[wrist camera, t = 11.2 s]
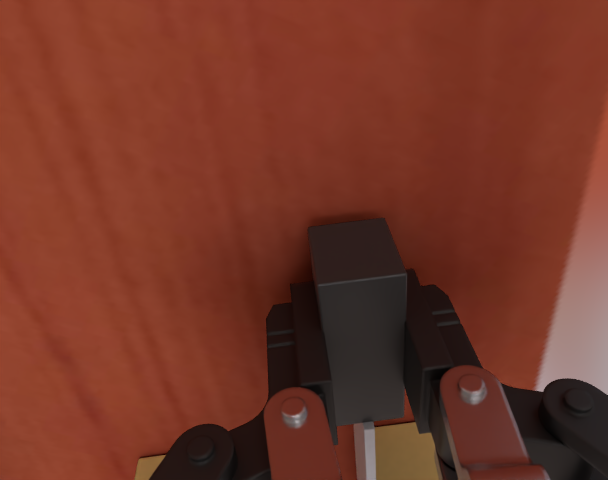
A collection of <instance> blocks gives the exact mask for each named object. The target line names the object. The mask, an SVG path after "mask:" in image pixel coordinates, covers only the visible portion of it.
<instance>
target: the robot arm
mask: <svg viewBox="0 0 608 480" xmlns="http://www.w3.org/2000/svg"><path fill="white" fill-rule="evenodd" d="M406 273H407V307H406V321H405V354H404V386H405V389H406V393H407V396H408V399H409V402H410V406H411V409H412V412H413V415H414V419H415V422H416V425H417V429H418V432H419V434H424V433H431V435H432V438H433V441H434V444H435V453H434V459H435V464H436V469H437V473H438V478H439V480H608V395H606V394H605V393H603V392H602V391H600V390H599V389H597V388H596V387H594V386H592V385H591V384H588V383H586V382H583V381H580V380H576V379H558V380H555V381H553V382H551V383H549V384H548V385H547V386H546V387H545V389H544V392H539V391H532V390H525V389H518V388H513V387H510V386H507V385H504V384H502V383H500V382H499V380H498V379H497V378H496V377H495V376H494V375H493V374H491V373H490V372H489V371H487V370H485V369H483V367H482V366H481V364H480V362H479V360H478V358H477V355H476V353H475V351H474V349H473V347H472V345H471V343H470V341H469V339H468V337H467V335H466V333H465V330H464V328H463V326H462V324H460V320H459V318H458V316H457V314H456V313H455V310H454V308H453V305H452V303H451V301H450V299H449V297H448V296H447V295H446V294H445V293H444V292H443V291H442V290H440V289H439V288H438V287H437V286H436V285H427V286H421V285H420V283H419V281H418V278H417V276H416V274H415V271H414V270H413V269H406ZM290 290H291V300H292V303H284V304H276V305H273V306H272V308H271V310H270V312H269V314H268V316H267V318H266V329H267V358H268V387H269V394H268V400H267V403H266V405H265V407H264V408H263V410H262V411H261V412H260V414H259V415H258V416H256V417H255V418H254V419H253V420H251V421H250V422H248V423H246V424H244V425H242V426H239V427H237V428H235V429H232V430H230V431H227V430H226V429H224V428H223V427H221V426H219V425H215V424H202V425H198V426H195V427H193V428H191V429H189V430H187V431H186V432H184V433H183V434H182V435H181V436H180V437H179V438H178V439H177V440H176V442H175V443H174V444H173V446H172V447H171V449H170V450H169V451H168V453H167V454H166V456H165V457H164V459H163V460H162V461H161V463H160V464H159V466H158V467H157V468H156V470H155V471H154V473H153V474H152V476H151V477H150V478H149V480H342V476H341V472H340V468H339V464H338V460H337V456H336V452H335V448H334V445H338V438H337V427H336V417H335V406H334V396H333V385H332V377H331V371H330V365H329V359H328V353H327V347H326V341H325V335H324V332H323V331H322V330H321V325H320V318H319V312H318V306H317V299H316V293H315V287H314V281H310V282H302V283H294V284H290Z"/></svg>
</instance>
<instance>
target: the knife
mask: <svg viewBox="0 0 608 480" xmlns="http://www.w3.org/2000/svg"><path fill="white" fill-rule="evenodd" d="M308 238H309V247H310V257H311V266H312V275H313V281H314V287H315V293H316V299H317V306H318V312H319V318H320V325H321V330H322V331H323V332H324V335H325V341H326V347H327V353H328V359H329V365H330V371H331V377H332V385H333V396H334V406H335V417H336V426H342V425H350V424H353V425H354V440H355V456H356V471H357V480H376V454H375V427H374V423H373V421H381V420H388V419H396V418H403V417H404V396H405V386H404V354H405V321H406V307H407V273H406V270H405V268H404V265H403V263H402V260H401V258H400V255H399V253H398V250H397V248H396V245H395V243H394V240H393V238H392V235H391V233H390V230H389V228H388V225H387V223H386V220H385V218H377V219H369V220H361V221H353V222H345V223H337V224H329V225H321V226H313V227H308Z"/></svg>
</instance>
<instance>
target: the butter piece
mask: <svg viewBox="0 0 608 480" xmlns="http://www.w3.org/2000/svg"><path fill="white" fill-rule="evenodd" d="M434 453H435V444H434V441H433V438H432V435H431V433H424V434H419V432H418V429H417V425H416V422H412V423H404V424H397V425H389V426H381V427H375V454H376V480H439V478H438V473H437V469H436V464H435V459H434Z"/></svg>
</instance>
